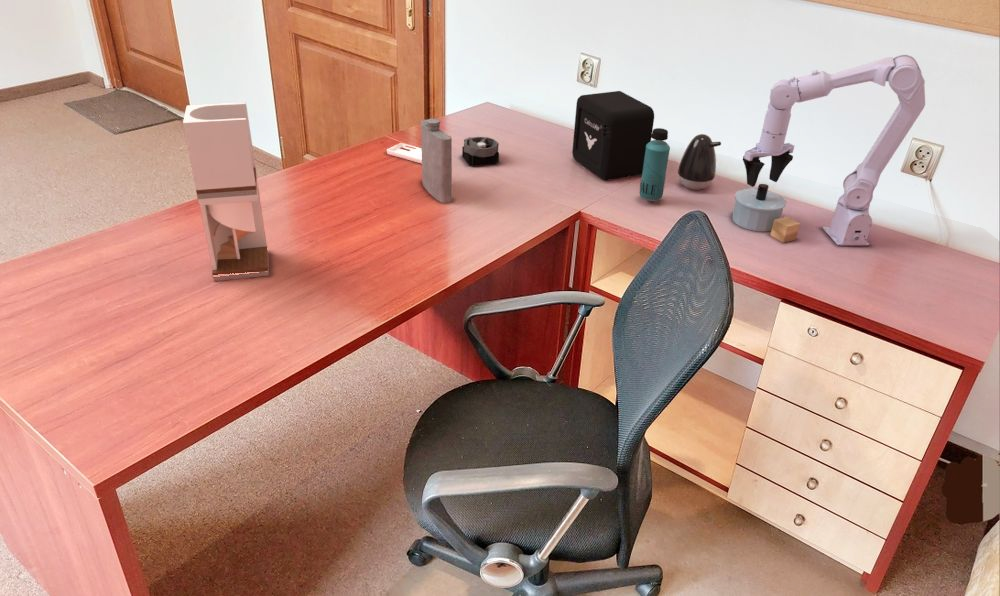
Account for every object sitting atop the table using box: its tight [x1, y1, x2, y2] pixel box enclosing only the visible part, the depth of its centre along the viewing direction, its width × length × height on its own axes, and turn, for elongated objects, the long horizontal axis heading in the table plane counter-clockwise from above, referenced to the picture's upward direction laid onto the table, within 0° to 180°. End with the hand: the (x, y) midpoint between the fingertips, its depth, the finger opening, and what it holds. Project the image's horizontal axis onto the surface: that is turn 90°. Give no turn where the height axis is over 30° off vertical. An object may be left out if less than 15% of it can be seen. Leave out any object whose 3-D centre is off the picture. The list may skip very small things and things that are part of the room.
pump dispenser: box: [677, 133, 722, 191], centre depth 210 cm, size 10×10×15 cm
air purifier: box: [571, 90, 655, 182], centre depth 219 cm, size 20×15×20 cm
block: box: [770, 216, 801, 244], centre depth 188 cm, size 4×4×4 cm
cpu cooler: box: [461, 136, 500, 167], centre depth 224 cm, size 10×6×10 cm
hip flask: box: [420, 118, 453, 204], centre depth 200 cm, size 16×4×20 cm, turn 26°
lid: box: [734, 183, 787, 211], centre depth 192 cm, size 13×13×5 cm
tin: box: [731, 200, 784, 232], centre depth 195 cm, size 12×12×6 cm
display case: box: [182, 102, 270, 282], centre depth 159 cm, size 11×11×35 cm
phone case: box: [386, 142, 422, 165], centre depth 227 cm, size 7×1×15 cm
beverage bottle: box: [639, 127, 671, 201], centre depth 200 cm, size 6×7×20 cm
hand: (762, 182), depth 192 cm, fingers open, 7 cm apart
